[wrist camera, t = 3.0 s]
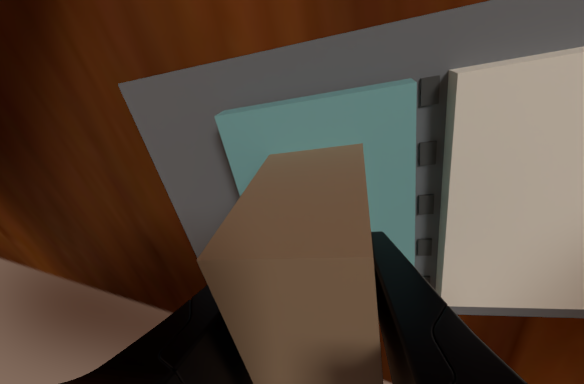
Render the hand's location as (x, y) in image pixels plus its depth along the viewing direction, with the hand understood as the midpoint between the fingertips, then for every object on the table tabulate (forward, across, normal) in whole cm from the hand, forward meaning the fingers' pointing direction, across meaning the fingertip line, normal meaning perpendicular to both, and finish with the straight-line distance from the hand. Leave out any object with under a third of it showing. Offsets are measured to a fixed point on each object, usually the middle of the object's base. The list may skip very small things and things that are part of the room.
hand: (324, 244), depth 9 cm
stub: (+2, 0, 0) cm, 2 cm away
